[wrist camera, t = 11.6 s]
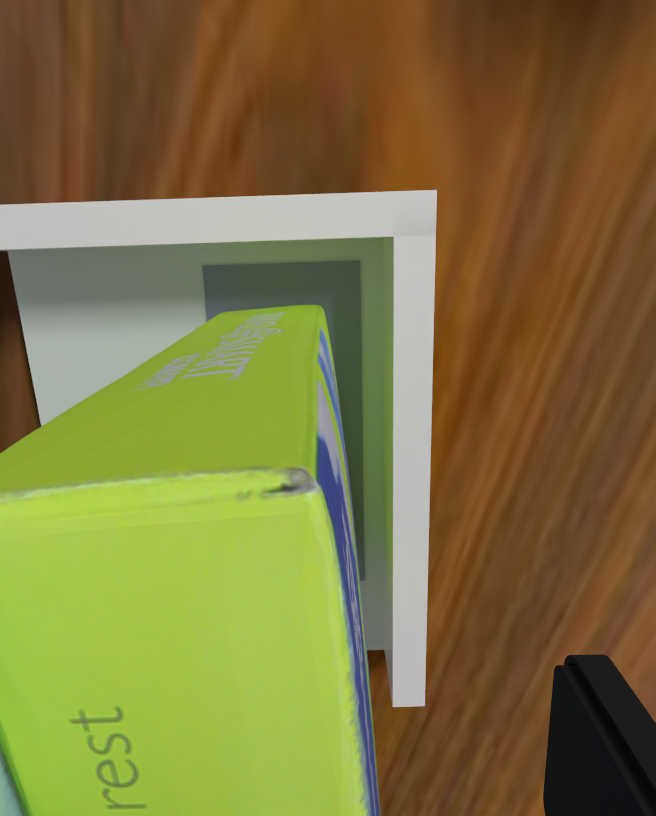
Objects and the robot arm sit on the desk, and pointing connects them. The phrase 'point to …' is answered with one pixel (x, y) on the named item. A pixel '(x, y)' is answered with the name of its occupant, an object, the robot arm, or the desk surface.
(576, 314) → the desk surface
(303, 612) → the box
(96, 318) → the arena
